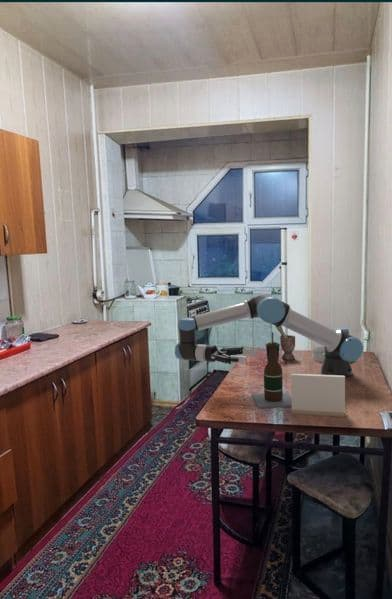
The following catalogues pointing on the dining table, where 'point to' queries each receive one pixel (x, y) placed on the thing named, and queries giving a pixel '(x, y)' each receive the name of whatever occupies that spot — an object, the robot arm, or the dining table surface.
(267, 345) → the drinking cup
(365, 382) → the dining table surface
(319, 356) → the dish
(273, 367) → the beer bottle
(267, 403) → the mat
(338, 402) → the screen
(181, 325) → the robot arm
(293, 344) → the mortar and pestle
